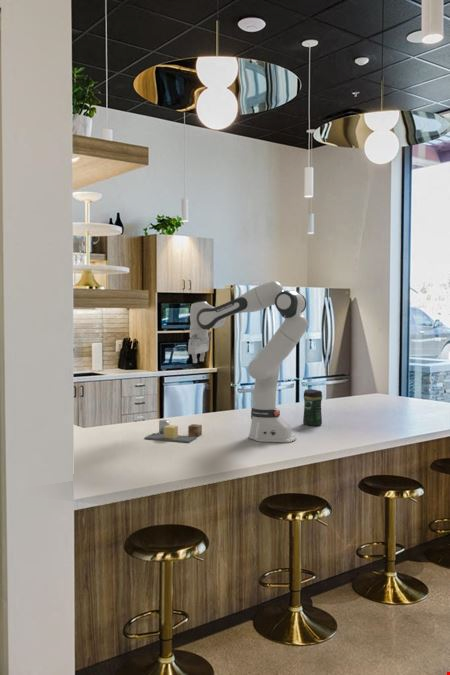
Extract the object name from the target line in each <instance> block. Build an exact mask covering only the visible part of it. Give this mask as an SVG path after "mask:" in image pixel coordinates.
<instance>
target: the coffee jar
mask: <svg viewBox="0 0 450 675" xmlns="http://www.w3.org/2000/svg"><path fill="white" fill-rule="evenodd" d="M303 400H304V406H303V416H302V417H303V419H302V421H303V422H302V423H303V424H304V425H306V424H307V425H306V426H311V425H313V427H314V426H316V425H319V426H321V425H322V424H323V419H322V418H323V415H322V400H323V391H322V390H318V389H305V390H304V391H303Z"/></svg>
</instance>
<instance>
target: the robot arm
mask: <svg viewBox="0 0 450 675" xmlns="http://www.w3.org/2000/svg"><path fill="white" fill-rule="evenodd" d="M271 306H275V308H276V310H277V311H278V312H279V314H280V315H281V317H282V318H284V320H283V322H282V323H281V325H279V327H278V329H277V331H275V333H274V334H273V336H271V338H270V340H269V341H268V342H267V343H266V344H265V345H264V346H263V348H261V349H260V351H259V352H258V353H257V354H256V355H255V356H254V357H253V359H252V360H250V362H249V363H248V365H247V366H248V367H247V372H248V375H249V376H250V377H251V378H252V379H254V380H255V381H254V386H253V389H252V397H251V398H252V400H251V401H252V404H251V411H250V417H251V418H250V419H251V422H250V429H249V434H248V439H250V440H254V441H256V442H262V443H264V442H266V443H292V441H293V442H294V440H295V441H296V440H297V436H296V435H295V434H293V433H292V427H291V425H290V423H288V422H287V421H286V420H285V419H283V418H282V417H281V416H280V414H281V413H280V412H281V409H278V408H277V404H276V403H277V387H278V381H279V376H280V375H279V374H280V369H281V363H283V361H285V359H286V358H288V356H289V355H290V354H291V352H292V351H293V350H294V348H295V347H296V346H297V344H298V343H299V342H300V340H301V338H302V337H303V336H304V334H305V333H306V331H307V328H308V326H309V323H308V320H307V318H306V317H305V316H304V315H303V314H302V313H303V312H304V311H305V310H306V308H307V299H306V298H305V296H304V295H303V294H301V293H300V292H297V291H294V290H284V288H283V285H282V284H281V283H280V282H278V281H276V280H274V281H268V282H265V283H263V284H259V285H257V286H255V287H253V288H251V289H250V290H247V291H246V292H244V293H243V294H241V295H239V296H237V297H235V298H234V299H232V300H230V301H228V302H225V303H223V304H220V305H218V306H213V305H211V304H209V303H208V302H207V301H206V300H205V301H204V300H203V301H196V302H193V303H192V304H191V306H190V310H189V311H190V312H189V320H190V326H189V339H188V346H187V353H188V354H189V355H191V358H192V363H193V364H197V363H198V358H197V356H198V354H200V356H199V362H204V361H205V356H206V352H208V351H209V349H210V338H211V332H210V331H208V330H211V329H218V328H221V327H223V326H224V325H225V324H226V322H227V318H228V317H230V316H233V315H236V314H242V313H254V312H255V313H256V312H258V311H263V310H265V309H268V308H269V307H271Z"/></svg>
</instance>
